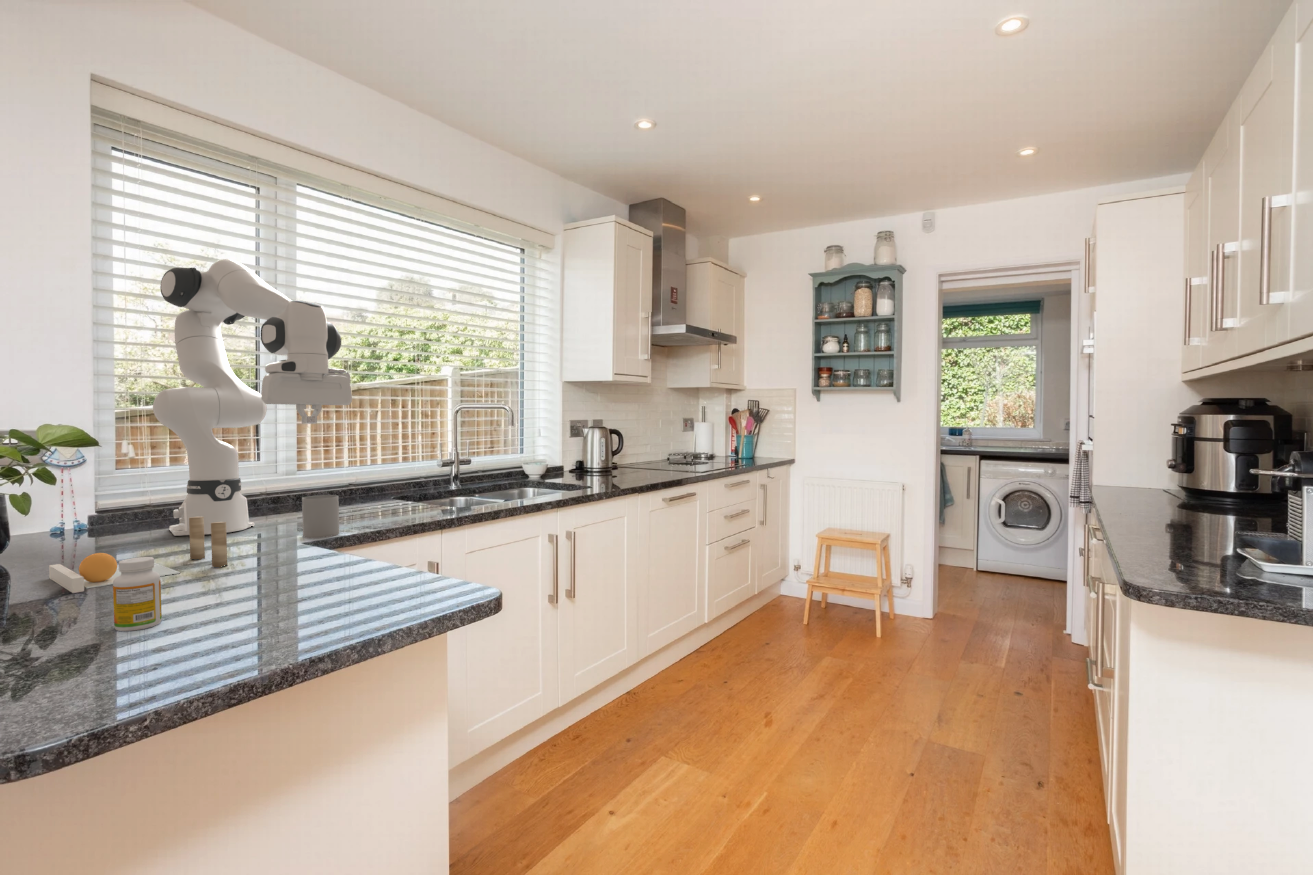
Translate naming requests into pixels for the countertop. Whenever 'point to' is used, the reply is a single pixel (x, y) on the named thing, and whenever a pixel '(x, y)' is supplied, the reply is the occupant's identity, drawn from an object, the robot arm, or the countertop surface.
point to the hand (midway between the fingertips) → (309, 423)
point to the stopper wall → (66, 578)
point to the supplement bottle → (137, 595)
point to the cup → (320, 516)
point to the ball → (98, 567)
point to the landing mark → (157, 568)
